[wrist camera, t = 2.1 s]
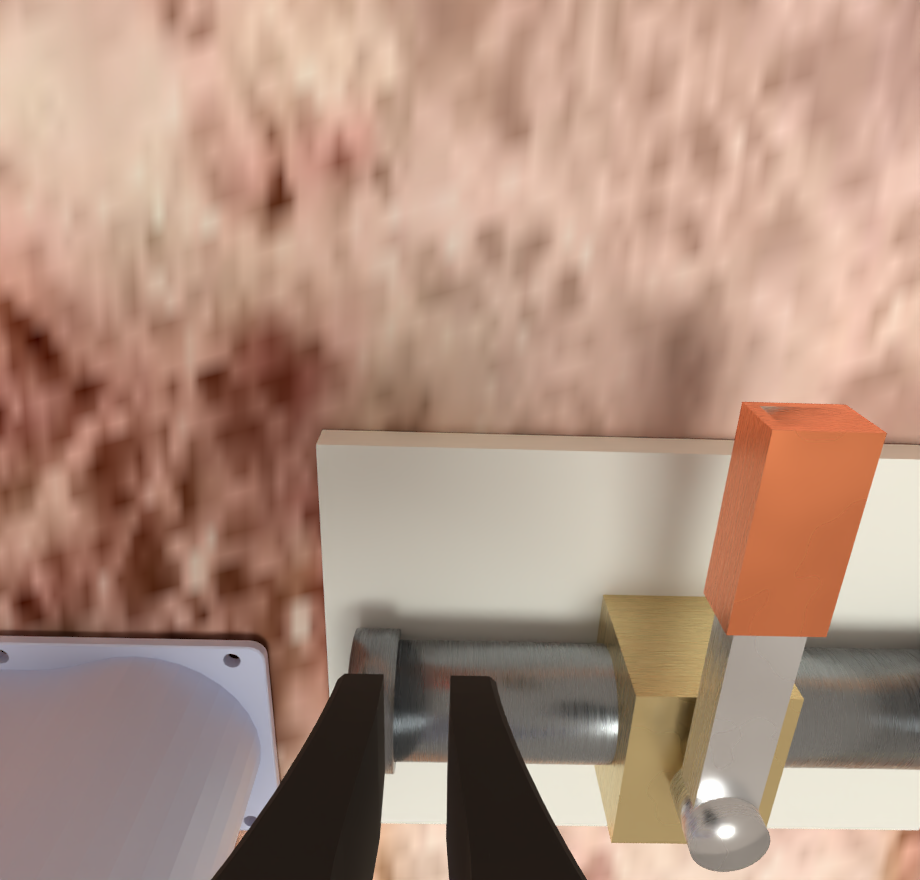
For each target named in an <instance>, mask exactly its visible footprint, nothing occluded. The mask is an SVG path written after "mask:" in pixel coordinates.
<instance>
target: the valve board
mask: <svg viewBox="0 0 920 880" xmlns="http://www.w3.org/2000/svg"><path fill="white" fill-rule="evenodd" d="M733 445H734V440H710V439H671V438H632V437H592V436H553V435H514V434H474V433H435V432H395V431H356V430H322V432H321V434H320V436H319V439H318V441H317V443H316V455H317V474H318V492H319V511H320V530H321V548H322V567H323V585H324V604H325V622H326V641H327V660H328V678H329V697H330V695H331V693H332V691H333V689H334V687H335V684H336V682H337V680H338V679H339V678H340V677H341V676H342V675H344V674H348V669H349V661H350V654H351V648H352V642H353V638H354V634H355V631H356V629H357V628H395V629H401V640H452V641H505V642H558V643H597V636H598V628H599V621H600V614H601V606H602V599H603V595H649V596H698V597H705V595H704V588H705V583H706V578H707V573H708V568H709V563H710V558H711V553H712V548H713V543H714V539H715V534H716V529H717V524H718V519H719V514H720V509H721V504H722V499H723V494H724V489H725V485H726V480H727V475H728V470H729V465H730V460H731V455H732V450H733ZM805 647H823V648H876V649H920V445H907V444H883V447H882V451H881V454H880V458H879V461H878V464H877V468H876V471H875V475H874V478H873V481H872V485H871V488H870V491H869V495H868V498H867V502H866V505H865V508H864V512H863V515H862V518H861V522H860V525H859V529H858V532H857V535H856V539H855V542H854V545H853V549H852V552H851V556H850V559H849V562H848V566H847V569H846V573H845V576H844V579H843V583H842V586H841V589H840V593H839V596H838V600H837V603H836V606H835V610H834V613H833V616H832V620H831V623H830V627H829V630H828V633H827V637H807V640H806V644H805ZM526 767H527V769H528V771H529V773H530V775H531V777H532V779H533V781H534V783H535V785H536V788H537V790H538V792H539V794H540V796H541V798H542V800H543V802H544V804H545V806H546V808H547V810H548V812H549V814H550V816H551V818H552V819H553V821H554V823H555V825H558V826H608V825H607V821H606V816H605V812H604V807H603V803H602V798H601V794H600V790H599V785H598V781H597V776H596V772H595V767H594V765H563V764H526ZM381 823H405V824H447V763H429V762H396V768H395V773H394V774H385V778H384V791H383V804H382V816H381ZM767 828H788V829H865V830H919V828H920V770H896V769H829V768H784V770H783V773H782V776H781V780H780V783H779V787H778V790H777V793H776V797H775V800H774V804H773V807H772V810H771V814H770V817H769V821H768V824H767Z"/></svg>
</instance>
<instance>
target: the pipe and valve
mask: <svg viewBox="0 0 920 880" xmlns="http://www.w3.org/2000/svg"><path fill="white" fill-rule="evenodd" d="M714 615H715V613H714V612H713V610H712V608H711V606H710V604H709V602H708V601H707V599H706V597H698V596H649V595H603V599H602V606H601V614H600V621H599V628H598V636H597V643H558V642H505V641H452V640H401V629H395V628H357V629H356V631H355V634H354V638H353V642H352V648H351V654H350V661H349V669H348V674H384V727H385V774H394V773H395V768H396V762H429V763H447V762H448V732H449V703H450V675H455V676H490V677H491V678H492V679H493V680H494V681H495V682H496V684H497V689H498V693H499V696H500V700H501V703H502V706H503V709H504V712H505V715H506V718H507V721H508V723H509V726H510V729H511V731H512V734H513V736H514V739H515V741H516V744H517V746H518V748H519V751H520V753H521V755H522V758H523V760H524V762H525V764H563V765H594V767H595V772H596V776H597V781H598V785H599V790H600V794H601V798H602V803H603V807H604V812H605V816H606V821H607V825H608V830H609V834H610V839H611V843H678V844H687V842H686V839H685V836H684V833H683V830H682V826H681V823H680V820H679V817H678V814H677V811H676V808H675V805H674V802H673V799H672V796H671V793H670V784H671V781H672V778H673V777H674V775H675V774H676V773H677V772H678V771H679V770H680V769H681V768H682V765H683V760H684V755H685V751H686V746H687V741H688V737H689V732H690V727H691V723H692V718H693V713H694V709H695V704H696V699H697V695H698V690H699V685H700V681H701V676H702V671H703V667H704V662H705V657H706V653H707V648H708V643H709V639H710V634H711V629H712V625H713V620H714ZM784 768H829V769H896V770H920V649H876V648H823V647H804V651H803V654H802V658H801V661H800V665H799V668H798V672H797V675H796V679H795V683H794V686H793V690H792V693H791V697H790V700H789V704H788V707H787V711H786V714H785V718H784V721H783V725H782V729H781V732H780V736H779V739H778V743H777V746H776V750H775V753H774V757H773V760H772V764H771V767H770V771H769V775H768V778H767V782H766V785H765V789H764V792H763V796H762V799H761V803H760V806H759V812H760V815H761V817H762V819H763V821H764V823H765V826H766V828H767V824H768V821H769V817H770V814H771V810H772V807H773V804H774V800H775V797H776V793H777V790H778V787H779V783H780V780H781V776H782V773H783V770H784Z"/></svg>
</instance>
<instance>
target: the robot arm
mask: <svg viewBox="0 0 920 880" xmlns="http://www.w3.org/2000/svg"><path fill="white" fill-rule="evenodd" d="M0 650H3V651H4V652H6V653H7V654H4V653H3V652H1V651H0V880H372V879H373V874H374V868H375V862H376V856H377V851H378V845H379V839H380V828H381V816H382V804H383V791H384V778H385V727H384V674H344V675H342V676H341V677H340V678H339V679H338V680H337V682H336V684H335V687H334V689H333V691H332V693H331V695H330V697H329V700H328V702H327V704H326V706H325V708H324V710H323V712H322V713H321V715H320V717H319V719H318V721H317V723H316V725H315V726H314V728H313V730H312V732H311V733H310V735H309V737H308V739H307V741H306V742H305V744H304V746H303V747H302V749H301V751H300V752H299V754H298V755H297V757H296V759H295V760H294V762H293V764H292V765H291V767H290V768H289V770H288V772H287V773H286V775H285V776H284V778H283V780H282V781H281V783H280V779H279V769H278V758H277V748H276V738H275V727H274V717H273V706H272V696H271V685H270V675H269V665H268V654H267V651H266V648H265V647H264V646H263V645H262V644H260V643H258V642H256V641H251V640H203V639H149V638H96V637H43V636H0ZM228 654H234V655H237V656H238V657H239V658H238V659H235V658H231V657H230V656H229V655H228ZM240 830H248V831H247V832H246V834H245V835H244V837H243V838H242V840H241V841H240V842H239V844H238V845H237V846H236V848H235V849H234V847H235V844H236V840H237V837H238V834H239V831H240ZM446 842H447V856H448V869H449V880H587V879H586V877H585V876H584V874H583V872H582V871H581V869H580V868H579V866H578V864H577V862H576V861H575V859H574V857H573V856H572V854H571V852H570V850H569V849H568V847H567V845H566V843H565V841H564V839H563V838H562V836H561V834H560V832H559V830H558V829H557V827H556V825H555V823H554V821H553V819H552V818H551V816H550V814H549V812H548V810H547V808H546V806H545V804H544V802H543V800H542V798H541V796H540V794H539V792H538V790H537V788H536V785H535V783H534V781H533V779H532V777H531V775H530V773H529V771H528V769H527V767H526V764H525V762H524V760H523V758H522V755H521V753H520V751H519V748H518V746H517V744H516V741H515V739H514V736H513V734H512V731H511V729H510V726H509V723H508V721H507V718H506V715H505V712H504V709H503V706H502V703H501V700H500V696H499V693H498V689H497V684H496V682H495V681H494V680H493V679H492V678H491V677H490V676H455V675H450V703H449V732H448V762H447V824H446Z"/></svg>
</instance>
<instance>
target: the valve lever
mask: <svg viewBox="0 0 920 880" xmlns="http://www.w3.org/2000/svg"><path fill="white" fill-rule="evenodd" d="M886 434H887V433H886V432H884V431H883V430H881V429H880V428H879V427H877V426H876V425H874V424H873V423H871V422H870V421H868V420H867V419H866V418H864V417H863V416H861V415H860V414H858V413H857V412H855V411H854V410H853V409H851V408H850V407H848V406H847V405H839V404H802V403H764V402H742V406H741V411H740V416H739V421H738V426H737V431H736V435H735V440H734V445H733V450H732V455H731V460H730V465H729V470H728V475H727V480H726V485H725V489H724V494H723V499H722V504H721V509H720V514H719V519H718V524H717V529H716V534H715V539H714V543H713V548H712V553H711V558H710V563H709V568H708V573H707V578H706V583H705V588H704V595H705V597H706V599H707V601H708V602H709V604H710V606H711V608H712V610H713V612H714V613H715V615H714V620H713V625H712V629H711V634H710V639H709V643H708V648H707V653H706V657H705V662H704V667H703V671H702V676H701V681H700V685H699V690H698V695H697V699H696V704H695V709H694V713H693V718H692V723H691V727H690V732H689V737H688V741H687V746H686V751H685V755H684V760H683V765H682V768H681V769H680V770H679V771H678V772H677V773H676V774H675V775H674V777H673V778H672V781H671V784H670V793H671V796H672V799H673V802H674V805H675V808H676V811H677V814H678V817H679V820H680V823H681V826H682V830H683V833H684V836H685V839H686V842H687V845H688V848H689V851H690V854H691V856H692V858H693V860H694V861H695V862H696V863H697V864H698V865H700V866H701V867H703V868H706V869H708V870H712V871H719V872H728V871H735V870H739V869H743V868H745V867H748V866H750V865H752V864H754V863H755V862H757V861H758V860H759V859H760V858H761V857H762V856H763V855H764V854H765V853H766V851H767V850H768V848H769V845H770V835H769V832H768V830H767V828H766V826H765V823H764V821H763V819H762V817H761V815H760V812H759V806H760V803H761V799H762V796H763V792H764V789H765V785H766V782H767V778H768V775H769V771H770V767H771V764H772V760H773V757H774V753H775V750H776V746H777V743H778V739H779V736H780V732H781V729H782V725H783V721H784V718H785V714H786V711H787V707H788V704H789V700H790V697H791V693H792V690H793V686H794V683H795V679H796V675H797V672H798V668H799V665H800V661H801V658H802V654H803V651H804V647H805V644H806V640H807V637H827V633H828V630H829V627H830V623H831V620H832V616H833V613H834V610H835V606H836V603H837V600H838V596H839V593H840V589H841V586H842V583H843V579H844V576H845V573H846V569H847V566H848V562H849V559H850V556H851V552H852V549H853V545H854V542H855V539H856V535H857V532H858V529H859V525H860V522H861V518H862V515H863V512H864V508H865V505H866V502H867V498H868V495H869V491H870V488H871V485H872V481H873V478H874V475H875V471H876V468H877V464H878V461H879V458H880V454H881V451H882V447H883V444H884V441H885V437H886Z"/></svg>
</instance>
